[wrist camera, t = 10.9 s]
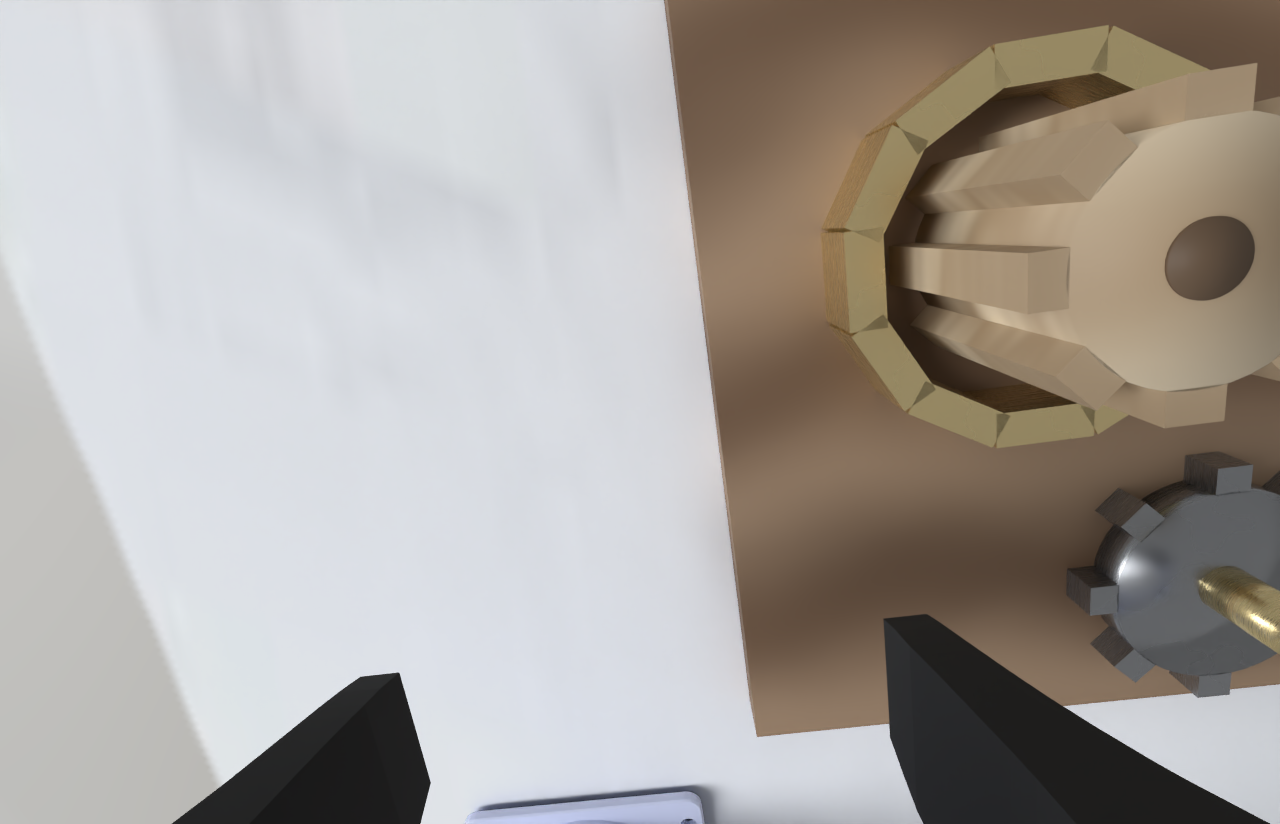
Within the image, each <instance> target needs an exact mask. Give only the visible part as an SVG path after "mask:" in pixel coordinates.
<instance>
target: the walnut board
mask: <svg viewBox="0 0 1280 824" xmlns="http://www.w3.org/2000/svg"><path fill="white" fill-rule="evenodd" d="M664 3H665V11H666V19H667V27H668V36H669V44H670V52H671V60H672V68H673V76H674V84H675V93H676V101H677V109H678V117H679V125H680V133H681V142H682V150H683V158H684V166H685V174H686V182H687V190H688V199H689V207H690V215H691V223H692V231H693V239H694V247H695V256H696V264H697V272H698V280H699V288H700V296H701V305H702V313H703V321H704V329H705V337H706V345H707V353H708V362H709V370H710V378H711V386H712V394H713V402H714V410H715V419H716V427H717V435H718V443H719V451H720V459H721V468H722V476H723V484H724V492H725V500H726V508H727V516H728V525H729V533H730V541H731V549H732V557H733V565H734V573H735V582H736V590H737V598H738V606H739V614H740V622H741V630H742V639H743V647H744V655H745V663H746V671H747V679H748V688H749V696H750V703H751V708H752V713H753V718H754V723H755V729H756V734H757V737H761V736H771V735H781V734H791V733H800V732H810V731H820V730H830V729H840V728H850V727H860V726H870V725H880V724H889V708H888V691H887V673H886V656H885V638H884V621H883V619H884V618H893V617H902V616H911V615H920V614H928V615H930V616H931V617H933V618H934V619H936V620H937V621H939V622H940V623H942V624H943V625H944V626H946V627H947V628H949V629H950V630H952V631H953V632H954V633H956V634H957V635H959V636H960V637H962V638H963V639H964V640H966V641H967V642H969V643H970V644H972V645H973V646H974V647H976V648H977V649H979V650H980V651H982V652H983V653H984V654H986V655H987V656H989V657H990V658H992V659H993V660H995V661H996V662H997V663H999V664H1000V665H1002V666H1003V667H1005V668H1006V669H1008V670H1009V671H1010V672H1012V673H1013V674H1015V675H1016V676H1018V677H1019V678H1021V679H1022V680H1024V681H1025V682H1027V683H1028V684H1030V685H1031V686H1033V687H1034V688H1036V689H1037V690H1039V691H1040V692H1042V693H1043V694H1045V695H1046V696H1048V697H1049V698H1051V699H1052V700H1054V701H1056V702H1057V703H1059V704H1060V705H1062V706H1068V705H1078V704H1088V703H1098V702H1108V701H1118V700H1128V699H1138V698H1148V697H1157V696H1167V695H1177V694H1187V693H1192V692H1191V691H1189V690H1188V689H1187V688H1186V687H1185V686H1184V685H1182V684H1181V683H1180V682H1179V681H1178V680H1177V679H1175V678H1174V677H1173V676H1172V675H1171V674H1170V673H1169V670H1166V669H1163V668H1161V667H1159V666H1157V665H1155V666H1154V667H1153V668H1152V669H1151V670H1150V671H1148V672H1147V673H1146V674H1145V675H1144V676H1143V677H1142V678H1140V679H1139V680H1138V681H1137V682H1136V683H1135V682H1134V681H1133V680H1131V679H1130V678H1129V677H1127V676H1126V675H1125V674H1123V673H1122V672H1121V671H1119V670H1118V669H1117V668H1115V667H1114V666H1113V665H1112V664H1111V663H1110V662H1109V661H1108V660H1107V659H1106V658H1105V657H1104V656H1102V655H1101V654H1100V653H1099V652H1098V651H1097V650H1096V649H1095V648H1094V647H1093V646H1092V645H1091V644H1090V643H1091V642H1092V641H1093V640H1094V639H1095V638H1096V637H1098V636H1099V635H1100V634H1101V633H1102V632H1103V631H1104V630H1105V629H1106V628H1107V627H1108V625H1107V624H1106V623H1105V621H1104V620H1103V619H1102V617H1101V615H1093V616H1089V615H1088V614H1087V613H1086V612H1085V611H1084V610H1083V609H1082V608H1080V607H1079V606H1078V605H1077V604H1076V603H1075V602H1074V601H1073V600H1071V599H1070V598H1069V597H1068V596H1067V595H1066V585H1067V569H1068V568H1077V567H1086V566H1093V565H1094V561H1095V557H1096V555H1097V552H1098V550H1099V547H1100V545H1101V543H1102V541H1103V540H1104V538H1105V536H1106V534H1107V533H1108V531H1109V530H1110V529H1111V527H1112V526H1113V524H1111V523H1110V522H1109V521H1108V520H1106V519H1105V518H1104V517H1102V516H1101V515H1100V514H1099V513H1097V512H1096V511H1095V510H1096V509H1097V508H1098V507H1099V506H1100V505H1101V504H1102V503H1103V502H1104V501H1105V500H1106V499H1107V498H1108V497H1109V496H1110V495H1111V494H1112V493H1113V492H1114V491H1115V490H1116V489H1117V488H1120V489H1122V490H1123V491H1125V492H1127V493H1129V494H1131V495H1132V496H1134V497H1136V498H1138V499H1140V500H1141V499H1143V498H1144V497H1146V496H1147V495H1149V494H1151V493H1153V492H1155V491H1156V490H1158V489H1160V488H1163V487H1165V486H1168V485H1170V484H1173V483H1176V482H1179V481H1183V480H1184V467H1185V455H1192V454H1200V453H1208V452H1216V451H1219V452H1222V453H1224V454H1227V455H1230V456H1232V457H1235V458H1237V459H1240V460H1242V461H1245V462H1248V463H1250V464H1253V473H1252V482H1251V483H1253V484H1255V485H1257V486H1260V487H1262V486H1263V485H1264V484H1265V483H1266V482H1268V481H1269V480H1270V479H1271V478H1272V477H1273V476H1274V475H1275V474H1276V473H1277V472H1278V471H1280V381H1277V380H1273V379H1269V378H1264V377H1260V376H1256V375H1252V374H1250V375H1247V376H1245V377H1243V378H1240V379H1238V380H1236V381H1233V382H1230V383H1227V384H1228V386H1227V396H1226V407H1225V418H1224V421H1219V422H1211V423H1203V424H1195V425H1187V426H1179V427H1171V428H1162V427H1159V426H1157V425H1154V424H1151V423H1149V422H1146V421H1144V420H1141V419H1138V418H1136V417H1133V416H1131V415H1128V416H1126V417H1124V418H1123V419H1121V420H1120V421H1118V422H1117V423H1115V424H1114V425H1112V426H1110V427H1109V428H1107V429H1106V430H1104V431H1103V432H1101V433H1100V434H1096V433H1094V436H1090V437H1082V438H1074V439H1066V440H1058V441H1050V442H1042V443H1035V444H1027V445H1019V446H1011V447H1003V448H995V447H994V446H993V448H992V447H989V446H987V445H984V444H982V443H979V442H977V441H974V440H972V439H969V438H967V437H964V436H962V435H959V434H957V433H954V432H952V431H949V430H947V429H944V428H942V427H939V426H937V425H934V424H932V423H929V422H927V421H924V420H922V419H919V418H917V417H914V416H912V415H909V414H907V413H906V412H905V411H903V410H902V409H900V408H899V407H898V406H896V405H895V404H893V403H892V402H891V401H889V400H888V399H887V398H885V397H884V396H882V395H881V394H880V393H878V392H877V391H876V390H875V389H874V388H873V386H872V385H871V383H870V382H869V381H868V379H867V378H866V376H865V375H864V374H863V372H862V371H861V370H860V368H859V367H858V365H857V364H856V363H855V361H854V360H853V358H852V357H851V356H850V354H849V353H848V351H847V350H846V349H845V347H844V346H843V345H842V343H841V342H840V340H839V339H838V338H837V336H836V335H835V333H834V332H833V331H832V329H831V328H830V327H829V325H828V324H830V322H828V321H827V316H826V303H825V289H824V275H823V261H822V248H821V234H820V233H823V232H828V231H825V230H823V229H821V228H822V226H823V224H824V221H825V219H826V217H827V215H828V213H829V210H830V208H831V206H832V204H833V202H834V199H835V197H836V195H837V193H838V191H839V188H840V186H841V184H842V182H843V180H844V177H845V175H846V173H847V171H848V169H849V166H850V164H851V162H852V160H853V158H854V155H855V153H856V151H857V149H858V147H859V144H860V142H861V140H862V139H864V138H866V137H865V135H866V134H867V133H869V132H870V131H871V130H872V129H874V128H875V127H876V126H877V125H879V124H880V123H881V122H883V121H884V120H885V119H886V118H888V117H889V116H890V115H891V114H893V113H894V112H895V111H896V110H898V109H899V108H900V107H901V106H903V105H904V104H905V103H906V102H908V101H909V100H910V99H911V98H913V97H914V96H915V95H917V94H918V93H919V92H920V91H922V90H923V89H924V88H925V87H927V86H928V85H929V84H930V83H932V82H933V81H934V80H935V79H937V78H938V77H939V76H940V75H942V74H943V73H944V72H946V71H947V70H949V69H951V68H953V67H954V66H956V65H958V64H960V63H961V62H963V61H965V60H967V59H968V58H970V57H972V56H974V55H975V54H977V53H979V52H981V51H982V50H984V49H986V48H988V47H989V46H992V45H994V44H998V43H1004V42H1010V41H1016V40H1022V39H1028V38H1034V37H1040V36H1046V35H1052V34H1058V33H1064V32H1070V31H1076V30H1082V29H1088V28H1094V27H1100V26H1106V25H1109V27H1112V26H1116V27H1118V28H1120V29H1122V30H1124V31H1127V32H1129V33H1131V34H1133V35H1135V36H1137V37H1140V38H1142V39H1144V40H1146V41H1148V42H1150V43H1153V44H1155V45H1157V46H1159V47H1161V48H1163V49H1166V50H1168V51H1170V52H1172V53H1174V54H1177V55H1179V56H1181V57H1183V58H1185V59H1187V60H1190V61H1192V62H1194V63H1196V64H1198V65H1200V66H1203V67H1205V68H1207V69H1209V70H1215V69H1221V68H1228V67H1234V66H1240V65H1247V64H1253V63H1257V74H1256V84H1255V95H1254V102H1258V101H1262V100H1267V99H1271V98H1276V97H1280V0H664ZM1067 110H1071V109H1070V108H1068V107H1066V106H1064V105H1062V104H1059V103H1057V102H1055V101H1053V100H1050V99H1048V98H1046V97H1044V96H1041V95H1033V96H1026V97H1020V98H1014V99H1008V100H1002V101H996V102H989V103H984V104H982V105H981V106H980V107H979V108H977V109H976V110H975V111H973V112H972V113H971V114H970V115H968V116H967V117H966V118H964V119H963V120H962V121H961V122H959V123H958V124H957V125H955V126H954V127H953V128H951V129H950V130H949V131H948V132H946V133H945V134H944V135H942V136H941V137H940V138H939V139H937V140H936V141H935V142H933V143H932V144H931V145H930V146H928V147H927V148H926V149H925V150H924V152H923V154H922V156H921V158H920V160H919V162H918V164H917V166H916V168H915V170H914V173H913V175H912V177H911V179H910V181H909V183H908V185H907V187H906V189H905V191H904V193H903V195H902V197H901V200H900V202H899V204H898V206H897V208H896V210H895V212H894V214H893V216H892V218H891V220H890V222H889V225H888V227H887V229H886V231H885V233H884V256H885V277H886V297H887V318H888V321H889V323H890V324H891V326H892V327H893V329H894V330H895V331H896V333H897V334H898V336H899V337H900V339H901V340H902V341H903V343H904V344H905V346H906V347H907V349H908V350H909V351H910V353H911V354H912V356H913V357H914V359H915V360H916V361H917V363H918V364H919V366H920V367H921V369H922V370H923V372H924V373H925V374H926V376H927V377H928V378H930V379H933V380H935V381H938V382H940V383H943V384H945V385H947V386H950V387H952V388H955V389H957V390H960V391H962V392H966V391H973V390H981V389H988V388H996V387H1003V386H1011V385H1018V384H1026V382H1024V381H1021V380H1019V379H1016V378H1014V377H1011V376H1009V375H1006V374H1004V373H1001V372H999V371H996V370H994V369H991V368H989V367H986V366H984V365H982V364H979V363H977V362H974V361H972V360H969V359H967V358H964V357H962V356H959V355H957V354H954V353H952V352H949V351H947V350H944V349H942V348H939V347H937V346H936V345H935V344H933V343H932V342H931V341H930V340H928V339H927V338H926V337H925V336H923V335H922V334H921V333H920V332H919V331H917V330H916V329H915V328H914V327H912V326H911V325H910V324H911V323H912V322H913V321H914V320H915V318H916V317H917V316H918V315H919V314H920V313H921V312H922V310H923V309H924V308H925V307H926V306H927V303H926V302H925V300H924V299H923V297H922V295H921V293H920V291H918V290H913V289H909V288H904V287H899V286H895V285H890V265H889V246H894V245H901V244H907V243H914V242H915V238H916V235H917V231H918V228H919V226H920V223H921V221H922V218H923V216H924V215H925V214H924V213H923V212H922V211H920V210H919V209H918V208H917V207H916V206H914V205H913V204H912V203H911V202H910V201H908V200H907V199H906V197H907V195H908V194H909V193H910V192H911V190H912V189H913V188H914V187H915V186H916V184H917V183H918V182H919V181H920V179H921V178H922V177H923V176H924V175H925V173H926V172H927V171H928V170H929V168H930V167H931V166H932V165H933V164H937V163H941V162H945V161H949V160H953V159H957V158H961V157H964V156H968V155H972V154H976V153H979V137H982V136H985V135H988V134H992V133H995V132H998V131H1002V130H1005V129H1008V128H1012V127H1015V126H1018V125H1021V124H1025V123H1028V122H1031V121H1035V120H1038V119H1041V118H1044V117H1048V116H1051V115H1054V114H1058V113H1061V112H1064V111H1067ZM1276 684H1280V655H1279V654H1278V653H1277V654H1276V655H1274V656H1272V657H1271V658H1269V659H1267V660H1265V661H1263V662H1261V663H1258V664H1256V665H1254V666H1251V667H1248V668H1246V669H1243V670H1239V671H1235V672H1232V674H1231V683H1230V689H1237V688H1247V687H1257V686H1267V685H1276Z"/></svg>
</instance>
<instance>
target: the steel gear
mask: <svg viewBox="0 0 1280 824" xmlns="http://www.w3.org/2000/svg"><path fill="white" fill-rule="evenodd" d="M1252 473H1253V464H1250V463H1248V462H1245V461H1242V460H1240V459H1237V458H1235V457H1232V456H1230V455H1227V454H1224V453H1222V452H1219V451H1216V452H1208V453H1200V454H1192V455H1185V467H1184V480H1183V481H1179V482H1176V483H1173V484H1170V485H1168V486H1165V487H1163V488H1160V489H1158V490H1156V491H1155V492H1153V493H1151V494H1149V495H1147V496H1146V497H1144V498H1143V499H1141V500H1140V499H1138V498H1136V497H1134V496H1132V495H1131V494H1129V493H1127V492H1125V491H1123V490H1122V489H1120V488H1117V489H1116V490H1115V491H1114V492H1113V493H1112V494H1111V495H1110V496H1109V497H1108V498H1107V499H1106V500H1105V501H1104V502H1103V503H1102V504H1101V505H1100V506H1099V507H1098V508H1097V509H1096V510H1095V511H1096V512H1097V513H1099V514H1100V515H1101V516H1102V517H1104V518H1105V519H1106V520H1108V521H1109V522H1110V523H1111V524H1113V526H1112V527H1111V529H1110V530H1109V531H1108V533H1107V534H1106V536H1105V538H1104V540H1103V541H1102V543H1101V545H1100V547H1099V550H1098V552H1097V555H1096V557H1095V561H1094V565H1093V566H1086V567H1077V568H1068V569H1067V585H1066V595H1067V596H1068V597H1069V598H1070V599H1071V600H1073V601H1074V602H1075V603H1076V604H1077V605H1078V606H1079V607H1080V608H1082V609H1083V610H1084V611H1085V612H1086V613H1087V614H1088V615H1089V616H1093V615H1101V617H1102V619H1103V620H1104V621H1105V623H1106V624H1107V625H1108V627H1107V628H1106V629H1105V630H1104V631H1103V632H1102V633H1101V634H1100V635H1099V636H1098V637H1096V638H1095V639H1094V640H1093V641H1092V642H1091V643H1090V644H1091V645H1092V646H1093V647H1094V648H1095V649H1096V650H1097V651H1098V652H1099V653H1100V654H1101V655H1102V656H1104V657H1105V658H1106V659H1107V660H1108V661H1109V662H1110V663H1111V664H1112V665H1113V666H1114V667H1115V668H1117V669H1118V670H1119V671H1121V672H1122V673H1123V674H1125V675H1126V676H1127V677H1129V678H1130V679H1131V680H1133V681H1134V682H1135V683H1136V682H1137V681H1138V680H1139V679H1140V678H1142V677H1143V676H1144V675H1145V674H1146V673H1147V672H1148V671H1150V670H1151V669H1152V668H1153V667H1154V666H1155V665H1157V666H1159V667H1161V668H1163V669H1166V670H1169V673H1170V674H1171V675H1172V676H1173V677H1174V678H1175V679H1177V680H1178V681H1179V682H1180V683H1181V684H1182V685H1184V686H1185V687H1186V688H1187V689H1188V690H1189V691H1191V692H1192V693H1193V694H1194V695H1195V696H1196V697H1198V698H1199V697H1209V696H1219V695H1229V693H1230V683H1231V674H1232V672H1235V671H1239V670H1243V669H1246V668H1248V667H1251V666H1254V665H1256V664H1258V663H1261V662H1263V661H1265V660H1267V659H1269V658H1271V657H1272V656H1274V655H1276V654H1277V653H1278V654H1279V655H1280V471H1278V472H1277V473H1276V474H1275V475H1274V476H1273V477H1272V478H1271V479H1270V480H1269V481H1268V482H1266V483H1265V484H1264V485H1263V486H1262V487H1260V486H1257V485H1255V484H1253V483H1251V482H1252Z"/></svg>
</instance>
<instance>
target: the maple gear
mask: <svg viewBox="0 0 1280 824" xmlns="http://www.w3.org/2000/svg"><path fill="white" fill-rule="evenodd" d="M1256 74H1257V63H1253V64H1247V65H1240V66H1234V67H1228V68H1221V69H1215V70H1209V71H1203V72H1196V73H1190V74H1186V75H1183V76H1179V77H1176V78H1173V79H1169V80H1166V81H1163V82H1160V83H1156V84H1153V85H1150V86H1146V87H1143V88H1140V89H1137V90H1133V91H1130V92H1127V93H1123V94H1120V95H1117V96H1113V97H1110V98H1107V99H1104V100H1100V101H1097V102H1094V103H1090V104H1087V105H1084V106H1081V107H1077V108H1074V109H1071V110H1067V111H1064V112H1061V113H1058V114H1054V115H1051V116H1048V117H1044V118H1041V119H1038V120H1035V121H1031V122H1028V123H1025V124H1021V125H1018V126H1015V127H1012V128H1008V129H1005V130H1002V131H998V132H995V133H992V134H988V135H985V136H982V137H979V153H976V154H972V155H968V156H964V157H961V158H957V159H953V160H949V161H945V162H941V163H937V164H933V165H932V166H931V167H930V168H929V170H928V171H927V172H926V173H925V175H924V176H923V177H922V178H921V179H920V181H919V182H918V183H917V184H916V186H915V187H914V188H913V189H912V190H911V192H910V193H909V194H908V195H907V197H906V199H907V200H908V201H910V202H911V203H912V204H913V205H914V206H916V207H917V208H918V209H919V210H920V211H922V212H923V213H924V214H925V215H924V216H923V218H922V221H921V223H920V226H919V228H918V231H917V235H916V238H915V242H914V243H907V244H901V245H894V246H889V265H890V285H895V286H899V287H904V288H909V289H913V290H918V291H920V293H921V295H922V297H923V299H924V300H925V302H926V303H927V306H926V307H925V308H924V309H923V310H922V312H921V313H920V314H919V315H918V316H917V317H916V318H915V320H914V321H913V322H912V323H911V324H910V325H911V326H912V327H914V328H915V329H916V330H917V331H919V332H920V333H921V334H922V335H923V336H925V337H926V338H927V339H928V340H930V341H931V342H932V343H933V344H935V345H936V346H937V347H939V348H942V349H944V350H947V351H949V352H952V353H954V354H957V355H959V356H962V357H964V358H967V359H969V360H972V361H974V362H977V363H979V364H982V365H984V366H986V367H989V368H991V369H994V370H996V371H999V372H1001V373H1004V374H1006V375H1009V376H1011V377H1014V378H1016V379H1019V380H1021V381H1024V382H1026V383H1029V384H1031V385H1034V386H1036V387H1039V388H1041V389H1044V390H1046V391H1048V392H1051V393H1053V394H1056V395H1058V396H1061V397H1063V398H1066V399H1068V400H1071V401H1073V402H1076V403H1078V404H1081V405H1083V406H1086V407H1088V408H1091V409H1093V410H1096V411H1097V410H1098V409H1099V408H1100V407H1101V406H1102V405H1104V406H1107V407H1110V408H1112V409H1115V410H1118V411H1120V412H1123V413H1125V414H1128V415H1131V416H1133V417H1136V418H1138V419H1141V420H1144V421H1146V422H1149V423H1151V424H1154V425H1157V426H1159V427H1162V428H1171V427H1179V426H1187V425H1195V424H1203V423H1211V422H1219V421H1224V418H1225V407H1226V396H1227V386H1228V384H1227V383H1230V382H1233V381H1236V380H1238V379H1240V378H1243V377H1245V376H1247V375H1250V374H1252V375H1256V376H1260V377H1264V378H1269V379H1273V380H1277V381H1280V97H1276V98H1271V99H1267V100H1262V101H1258V102H1254V95H1255V84H1256Z"/></svg>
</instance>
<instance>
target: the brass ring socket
mask: <svg viewBox="0 0 1280 824" xmlns="http://www.w3.org/2000/svg"><path fill="white" fill-rule="evenodd" d="M1203 71H1209V69H1207V68H1205V67H1203V66H1200V65H1198V64H1196V63H1194V62H1192V61H1190V60H1187V59H1185V58H1183V57H1181V56H1179V55H1177V54H1174V53H1172V52H1170V51H1168V50H1166V49H1163V48H1161V47H1159V46H1157V45H1155V44H1153V43H1150V42H1148V41H1146V40H1144V39H1142V38H1140V37H1137V36H1135V35H1133V34H1131V33H1129V32H1127V31H1124V30H1122V29H1120V28H1118V27H1116V26H1112V27H1109V25H1106V26H1100V27H1094V28H1088V29H1082V30H1076V31H1070V32H1064V33H1058V34H1052V35H1046V36H1040V37H1034V38H1028V39H1022V40H1016V41H1010V42H1004V43H998V44H994V45H992V46H989V47H988V48H986V49H984V50H982V51H981V52H979V53H977V54H975V55H974V56H972V57H970V58H968V59H967V60H965V61H963V62H961V63H960V64H958V65H956V66H954V67H953V68H951V69H949V70H947V71H946V72H944V73H943V74H942V75H940V76H939V77H938V78H937V79H935V80H934V81H933V82H932V83H930V84H929V85H928V86H927V87H925V88H924V89H923V90H922V91H920V92H919V93H918V94H917V95H915V96H914V97H913V98H911V99H910V100H909V101H908V102H906V103H905V104H904V105H903V106H901V107H900V108H899V109H898V110H896V111H895V112H894V113H893V114H891V115H890V116H889V117H888V118H886V119H885V120H884V121H883V122H881V123H880V124H879V125H877V126H876V127H875V128H874V129H872V130H871V131H870V132H869V133H867V134H866V135H865V137H866V138H864V139H862V140H861V142H860V144H859V147H858V149H857V151H856V153H855V155H854V158H853V160H852V162H851V164H850V166H849V169H848V171H847V173H846V175H845V177H844V180H843V182H842V184H841V186H840V188H839V191H838V193H837V195H836V197H835V199H834V202H833V204H832V206H831V208H830V210H829V213H828V215H827V217H826V219H825V221H824V224H823V226H822V228H821V229H823V230H825V231H828V232H823V233H820V234H821V248H822V261H823V275H824V289H825V303H826V316H827V321H828V322H830V324H828V325H829V327H830V328H831V329H832V331H833V332H834V333H835V335H836V336H837V338H838V339H839V340H840V342H841V343H842V345H843V346H844V347H845V349H846V350H847V351H848V353H849V354H850V356H851V357H852V358H853V360H854V361H855V363H856V364H857V365H858V367H859V368H860V370H861V371H862V372H863V374H864V375H865V376H866V378H867V379H868V381H869V382H870V383H871V385H872V386H873V388H874V389H875V390H876V391H877V392H878V393H880V394H881V395H882V396H884V397H885V398H887V399H888V400H889V401H891V402H892V403H893V404H895V405H896V406H898V407H899V408H900V409H902V410H903V411H905V412H906V413H907V414H909V415H912V416H914V417H917V418H919V419H922V420H924V421H927V422H929V423H932V424H934V425H937V426H939V427H942V428H944V429H947V430H949V431H952V432H954V433H957V434H959V435H962V436H964V437H967V438H969V439H972V440H974V441H977V442H979V443H982V444H984V445H987V446H989V447H992V448H993V446H994V447H995V448H1003V447H1011V446H1019V445H1027V444H1035V443H1042V442H1050V441H1058V440H1066V439H1074V438H1082V437H1090V436H1094V433H1096V434H1100V433H1101V432H1103V431H1104V430H1106V429H1107V428H1109V427H1110V426H1112V425H1114V424H1115V423H1117V422H1118V421H1120V420H1121V419H1123V418H1124V417H1126V416H1128V414H1125V413H1123V412H1120V411H1118V410H1115V409H1112V408H1110V407H1107V406H1104V405H1102V406H1101V407H1100V408H1099V409H1098V410H1097V411H1096V410H1093V409H1091V408H1088V407H1086V406H1083V405H1081V404H1078V403H1076V402H1073V401H1071V400H1068V399H1066V398H1063V397H1061V396H1058V395H1056V394H1053V393H1051V392H1048V391H1046V390H1044V389H1041V388H1039V387H1036V386H1034V385H1031V384H1029V383H1026V384H1018V385H1011V386H1003V387H996V388H988V389H981V390H973V391H966V392H962V391H960V390H957V389H955V388H952V387H950V386H947V385H945V384H943V383H940V382H938V381H935V380H933V379H930V378H928V377H927V376H926V374H925V373H924V372H923V370H922V369H921V367H920V366H919V364H918V363H917V361H916V360H915V359H914V357H913V356H912V354H911V353H910V351H909V350H908V349H907V347H906V346H905V344H904V343H903V341H902V340H901V339H900V337H899V336H898V334H897V333H896V331H895V330H894V329H893V327H892V326H891V324H890V323H889V321H888V318H887V297H886V277H885V256H884V233H885V231H886V229H887V227H888V225H889V222H890V220H891V218H892V216H893V214H894V212H895V210H896V208H897V206H898V204H899V202H900V200H901V197H902V195H903V193H904V191H905V189H906V187H907V185H908V183H909V181H910V179H911V177H912V175H913V173H914V170H915V168H916V166H917V164H918V162H919V160H920V158H921V156H922V154H923V152H924V150H925V149H926V148H927V147H928V146H930V145H931V144H932V143H933V142H935V141H936V140H937V139H939V138H940V137H941V136H942V135H944V134H945V133H946V132H948V131H949V130H950V129H951V128H953V127H954V126H955V125H957V124H958V123H959V122H961V121H962V120H963V119H964V118H966V117H967V116H968V115H970V114H971V113H972V112H973V111H975V110H976V109H977V108H979V107H980V106H981V105H982V104H984V103H989V102H996V101H1002V100H1008V99H1014V98H1020V97H1026V96H1033V95H1041V96H1044V97H1046V98H1048V99H1050V100H1053V101H1055V102H1057V103H1059V104H1062V105H1064V106H1066V107H1068V108H1070V109H1074V108H1077V107H1081V106H1084V105H1087V104H1090V103H1094V102H1097V101H1100V100H1104V99H1107V98H1110V97H1113V96H1117V95H1120V94H1123V93H1127V92H1130V91H1133V90H1137V89H1140V88H1143V87H1146V86H1150V85H1153V84H1156V83H1160V82H1163V81H1166V80H1169V79H1173V78H1176V77H1179V76H1183V75H1186V74H1190V73H1196V72H1203Z"/></svg>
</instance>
